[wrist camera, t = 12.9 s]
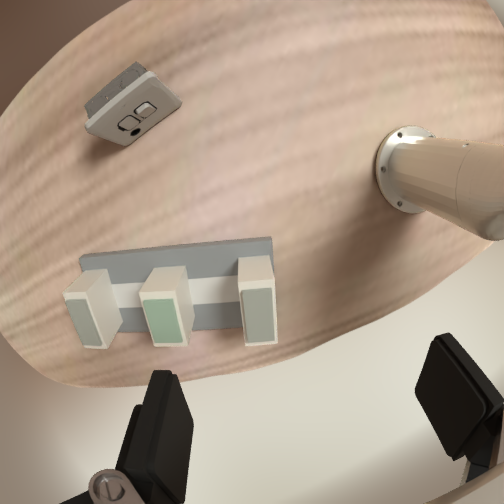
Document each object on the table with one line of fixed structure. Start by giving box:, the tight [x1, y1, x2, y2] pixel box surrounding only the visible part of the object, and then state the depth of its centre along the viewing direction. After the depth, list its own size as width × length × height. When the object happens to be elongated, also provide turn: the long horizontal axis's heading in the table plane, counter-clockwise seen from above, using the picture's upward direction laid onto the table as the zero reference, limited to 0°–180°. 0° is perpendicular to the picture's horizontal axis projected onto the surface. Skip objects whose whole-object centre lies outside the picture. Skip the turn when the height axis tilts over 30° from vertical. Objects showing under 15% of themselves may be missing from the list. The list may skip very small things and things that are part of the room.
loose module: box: [139, 265, 195, 347], centre depth 37 cm, size 4×8×8 cm, turn 4°
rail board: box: [79, 237, 274, 332], centre depth 41 cm, size 28×13×2 cm, turn 95°
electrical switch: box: [84, 62, 182, 146], centre depth 28 cm, size 9×5×9 cm, turn 122°
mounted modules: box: [63, 255, 278, 349], centre depth 37 cm, size 27×9×8 cm, turn 95°
